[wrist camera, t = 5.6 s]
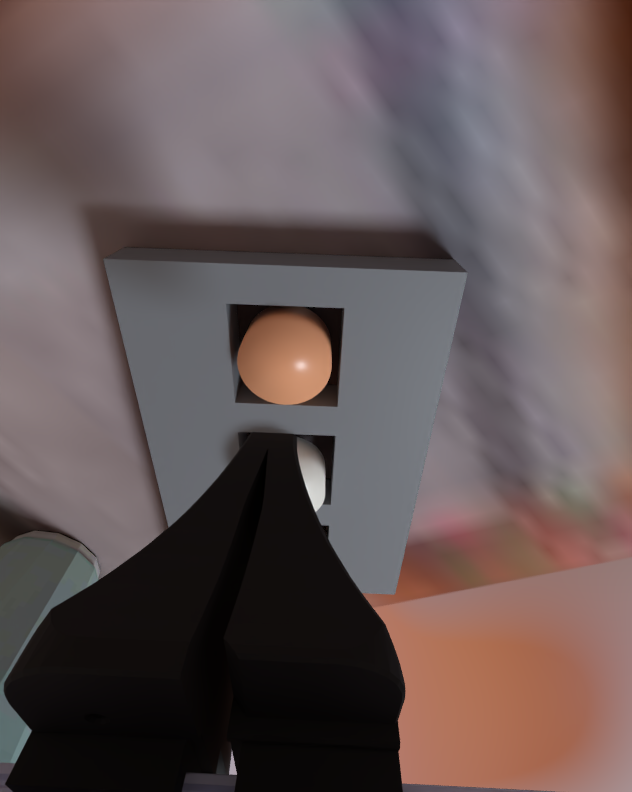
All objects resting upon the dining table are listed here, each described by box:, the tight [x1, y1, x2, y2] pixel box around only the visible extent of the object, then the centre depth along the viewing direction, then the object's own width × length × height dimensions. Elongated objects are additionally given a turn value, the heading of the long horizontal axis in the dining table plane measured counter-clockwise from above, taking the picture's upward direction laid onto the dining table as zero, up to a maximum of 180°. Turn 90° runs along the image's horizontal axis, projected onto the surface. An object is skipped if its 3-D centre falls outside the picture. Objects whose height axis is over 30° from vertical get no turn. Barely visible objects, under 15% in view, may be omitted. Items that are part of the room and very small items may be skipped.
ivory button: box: [297, 437, 325, 512], centre depth 21 cm, size 4×4×2 cm
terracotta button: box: [237, 306, 332, 405], centre depth 18 cm, size 4×4×2 cm
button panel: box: [103, 247, 468, 594], centre depth 22 cm, size 14×21×2 cm, turn 178°
